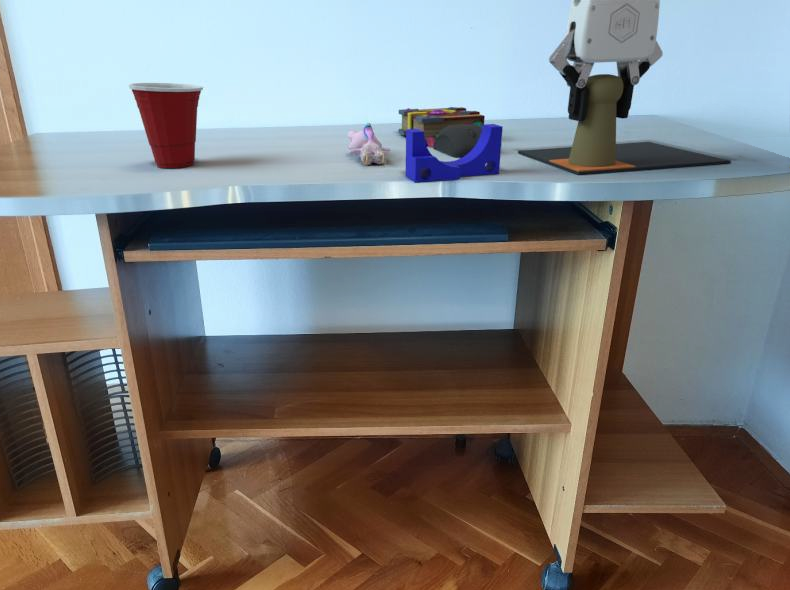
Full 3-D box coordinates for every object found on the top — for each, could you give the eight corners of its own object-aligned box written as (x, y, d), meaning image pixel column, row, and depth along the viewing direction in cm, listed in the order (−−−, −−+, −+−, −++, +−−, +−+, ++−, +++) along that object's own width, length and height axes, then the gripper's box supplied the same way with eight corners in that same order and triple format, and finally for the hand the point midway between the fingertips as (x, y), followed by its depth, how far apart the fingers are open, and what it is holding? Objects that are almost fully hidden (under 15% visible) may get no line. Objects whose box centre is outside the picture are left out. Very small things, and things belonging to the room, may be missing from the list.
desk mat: (647, 144, 102) (648, 140, 101) (730, 163, 86) (731, 158, 85) (517, 153, 99) (518, 149, 98) (578, 175, 83) (578, 170, 82)
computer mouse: (456, 158, 96) (458, 130, 95) (430, 147, 106) (431, 122, 105) (495, 155, 97) (497, 127, 96) (466, 144, 107) (467, 119, 106)
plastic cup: (208, 169, 95) (198, 83, 90) (135, 173, 95) (120, 86, 90) (215, 157, 105) (206, 78, 100) (148, 160, 105) (136, 81, 99)
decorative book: (455, 131, 122) (456, 103, 120) (487, 143, 108) (489, 112, 106) (397, 134, 121) (398, 106, 119) (422, 147, 107) (423, 115, 104)
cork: (559, 163, 87) (569, 75, 82) (581, 157, 90) (592, 72, 85) (602, 168, 83) (615, 76, 78) (623, 161, 86) (637, 73, 81)
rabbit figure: (396, 174, 93) (376, 142, 106) (398, 133, 90) (377, 105, 102) (354, 177, 93) (338, 145, 105) (354, 136, 89) (338, 107, 101)
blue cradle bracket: (415, 182, 82) (416, 133, 79) (405, 175, 86) (406, 129, 83) (503, 175, 84) (507, 127, 81) (490, 169, 88) (493, 123, 85)
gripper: (568, -44, 71) (550, 126, 79) (706, -48, 74) (675, 118, 82) (537, -37, 78) (523, 119, 86) (664, -41, 81) (639, 112, 88)
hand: (597, 117), depth 84 cm, fingers closed on cork, 5 cm apart
